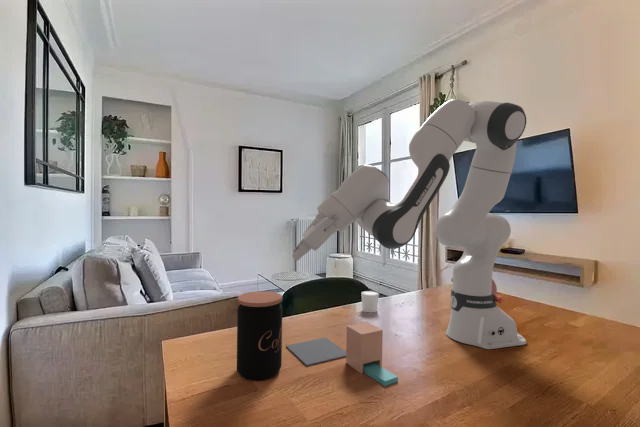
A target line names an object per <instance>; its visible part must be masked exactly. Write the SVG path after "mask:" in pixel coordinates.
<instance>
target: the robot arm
mask: <svg viewBox="0 0 640 427" xmlns="http://www.w3.org/2000/svg"><path fill="white" fill-rule="evenodd" d="M526 125H527V115H526V113H525V111H524V109H523V107H522V106H520V105H518V104H516V103H511V102H498V101H492V100H491V101H488V100H485V101H476V102H475V101H474V102H469V101H465V100H462V99H459V98H453V99H449V100H447V101H445V102H444V103H442V105H440V106H439V107H438V108H437V109H436V110H434V112H433V113H432V114H430V115H429V117H428V118H427V119H426V120H424V122H423V124H422V125H420V127H419V128H418V129H417V131H416V132H415V133H414V134H413V136H412V138H411V140H410V142H409V144H408V152H409V157H410V158H411V161H412V162H413V163H414V165H415V166H416V167H417V169H418V172H417V176H416V178H415V180H414V181H413V183H412V185H411V186H410V187H409V189H408V190H407V192H406V193H405V195H404V197H403V199H401V201H400V202H398V203H396V204H394V203H392V202H391V200H390V198H389V193H388V192H389V191H388V185H389V182H390V179H389V177H388V175H386V173H384V172H383V171H382V170H380V169H379V168H377V167H376V166H373V165H371V164H363V165H361V166H359V167H358V168H356V169H355V170H354V171H353V172H352V173H351V174H349V175H348V177H347V178H345V179H344V180H343V181H342V182H341V184H340V185H339V187H338V189H337V190H335V191H334V192H332V193H330V194H329V195H328V196H327V197H326V198H325V200H323V201H322V203H320V204H319V205H318V206H317V207H316V209H317V211H318V213H317V215H316V216H315V218H314V219H313V221H311V223H310V224H309V225H308V226H307V228H306V230H305V231H304V232H303V234H302V239H301V240H300V241H299V243H298V244H297V245H296V247H294V248H293V249H292V252H293V254H292V258H293V259H294V260H295V261H299V260H300V259H301V258H302V257H303V256H304V255H306V254H308V253H309V252H310V251H311V250H313V251H315V252H316V251H317V250H319V249H320V248H321V247H322V246H323V244H325V243H326V242H327V240H328V239H330V237H331V236H332V235H335V234H336V233H337V232H340V233H341V234H343V233H344V232H345V231H346V230H347V229H348V228H349V227H351V225H352V224H353V223H354V222H355V221H356V223H357V225H358V226H359V227H360V228H361V229H363V230H364V231H365V232H366V233H368V234H369V235H370V236H371V237H372V238H374V239H375V240H376V241H377V242H378V243H379V244H380V245H381V246H382V247H384V248H386V249H388V250H396V249H399V248H403V247H404V246H406V245H407V244H409V242H411V240H413V239H414V237H415V236H414V235H415V234H416V231H417V229H418V226H419V224H420V222H421V220H422V218H423V217H424V215H425V213H426V212H427V209H429V207H430V204H431V203H432V202H433V200H434V198H435V197H436V196H437V194H438V192H439V190H440V189H441V187H442V185H443V184H444V182H445V180H446V179H447V176H448V175H449V171H450V167H451V166H450V161H451V159H452V157H453V156H454V154H455V153H456V152H457V150H458V149H459V148H460V146H461V145H462V144H463V143H464V141H465V142H468V143H473V144H475V145H476V147H475V148H476V149H475V152H474V154H473V157H472V161H471V163H470V166H469V171H468V174H467V177H466V180H465V184H464V186H463V190H462V191H461V194H460V195H459V197H458V199H457V200H456V202H455V203H454V204H453V206H452V207H451V208H450V209H449V210H448V211H447V212H446V213H444V214H443V215H441V216H440V217H439V218H438V219H437V221H436V223H435V230H434V232H435V236H436V238H437V241H438V242H439V243H440V244H441V245H443V246H445V247H449V248H454V249H464V250H463V253H462V255H461V256H460V258H459V259H458V260H457V261H456V262H455V263H454V265H453V268H452V277H453V282H452V289H451V290H450V308H451V309H450V310H451V311H450V316H449V321H448V322H449V323H448V326H447V329H446V332H445V334H446V335H447V337H448V338H450V339H452V340H454V341H457V342H459V343H462V344H466V345H471V346H475V347H479V348H482V349H485V350H494V349H502V348H508V347H517V346H523V345H527V340H526V338H525V337H524V336H523V335H521V334H520V333H518V328H517V324H516V322H515V320H514V319H513V318H512V317H511V316H510V315H509V314H508V313H507V312H505V311H504V310H503V309H501V308H500V307H499V306H497V305H498V304H497V303H499V304H503V303H504V302H505V298H504V296H501V295H499V294H498V295H496V296H495V295H494V294H492V293H491V289H492V279H493V271H494V265H495V261H496V259H497V256H498V254H499V251H500V249H501V247H502V246H503V245H504V244H505V243H506V242H507V241H508V240H509V238H510V236H511V233H512V231H511V230H512V229H511V224H510V222H508V221H509V220H507V218H505V217H504V216H502V215H499V214H497V213H491V212H490V211H491V210H492V209H493V208H494V207H495V205H497V204H498V203H500V202H501V201H502V200H504V197H505V194H506V192H507V188H508V185H509V181H510V177H511V176H512V171H513V168H514V164H515V160H516V159H515V158H516V155H517V154H516V153H517V141H518V140H519V139H520V138H521V137H522V136H523V133H524V132H525V129H526V128H527V126H526Z"/></svg>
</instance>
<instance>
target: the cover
mask: <svg viewBox="0 0 640 427" xmlns="http://www.w3.org/2000/svg"><path fill="white" fill-rule="evenodd" d="M383 332H384V331H383V329H381V328H380V327H378V326H375V325H373V324H371V323H370V322H367V321H366V322H362V323H361V322H360V323H355V324H350V325H346V346H345V348H346V350H345V351H346V357H345V360H346V361H345V364H348V366H350V367H351V368H353V369H354V370H355V371H357V373H359V374H360V375H363V374H364V372H363V364H366V363H370V362H374V363H376V364H378V365H379V366H381V367H383V337H384V336H383Z"/></svg>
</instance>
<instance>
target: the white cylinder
mask: <svg viewBox="0 0 640 427" xmlns="http://www.w3.org/2000/svg"><path fill="white" fill-rule="evenodd" d="M360 295H361V308H362V309H361V310H362V312H363V313H366V312H375V313H377V312H378V307H379V306H378V305H379V297H380V293H379V292H377V291H373V290H364V291H361V293H360ZM376 311H377V312H376Z"/></svg>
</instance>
